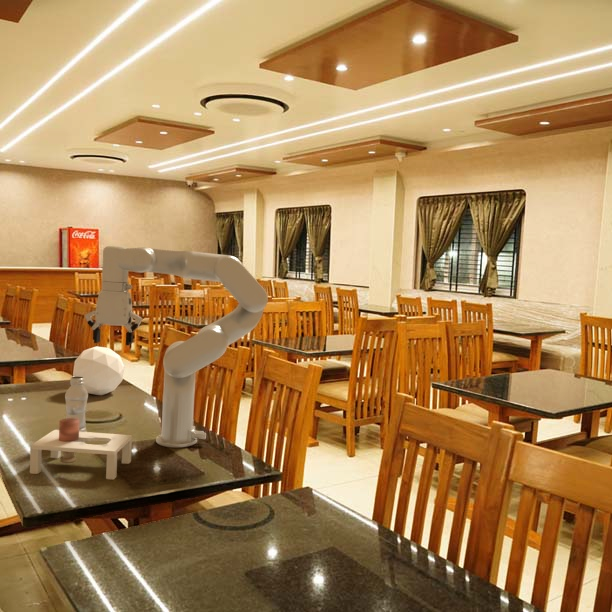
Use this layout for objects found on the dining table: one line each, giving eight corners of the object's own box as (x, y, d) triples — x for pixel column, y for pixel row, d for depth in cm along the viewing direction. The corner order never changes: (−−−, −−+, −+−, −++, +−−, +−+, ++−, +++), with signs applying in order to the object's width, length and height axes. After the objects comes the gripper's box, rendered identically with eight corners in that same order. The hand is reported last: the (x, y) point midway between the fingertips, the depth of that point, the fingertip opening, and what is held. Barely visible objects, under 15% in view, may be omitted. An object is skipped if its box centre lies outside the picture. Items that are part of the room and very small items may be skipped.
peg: (81, 458, 166) (82, 418, 166) (73, 464, 161) (74, 424, 161) (63, 456, 167) (64, 417, 166) (54, 463, 162) (56, 422, 161)
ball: (100, 406, 250) (120, 364, 260) (118, 399, 235) (139, 355, 245) (57, 386, 242) (80, 343, 252) (74, 377, 227) (97, 332, 237)
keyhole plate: (131, 461, 171) (132, 435, 170) (113, 479, 157) (114, 451, 156) (53, 455, 171) (54, 429, 171) (29, 473, 157) (30, 445, 157)
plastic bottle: (58, 443, 182) (60, 377, 180) (76, 438, 188) (78, 374, 186) (73, 447, 179) (75, 381, 177) (91, 442, 185) (93, 377, 183)
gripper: (146, 288, 187) (144, 343, 188) (91, 285, 187) (89, 340, 188) (139, 290, 179) (137, 347, 180) (81, 286, 180) (79, 343, 181)
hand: (112, 343), depth 184 cm, fingers open, 9 cm apart
